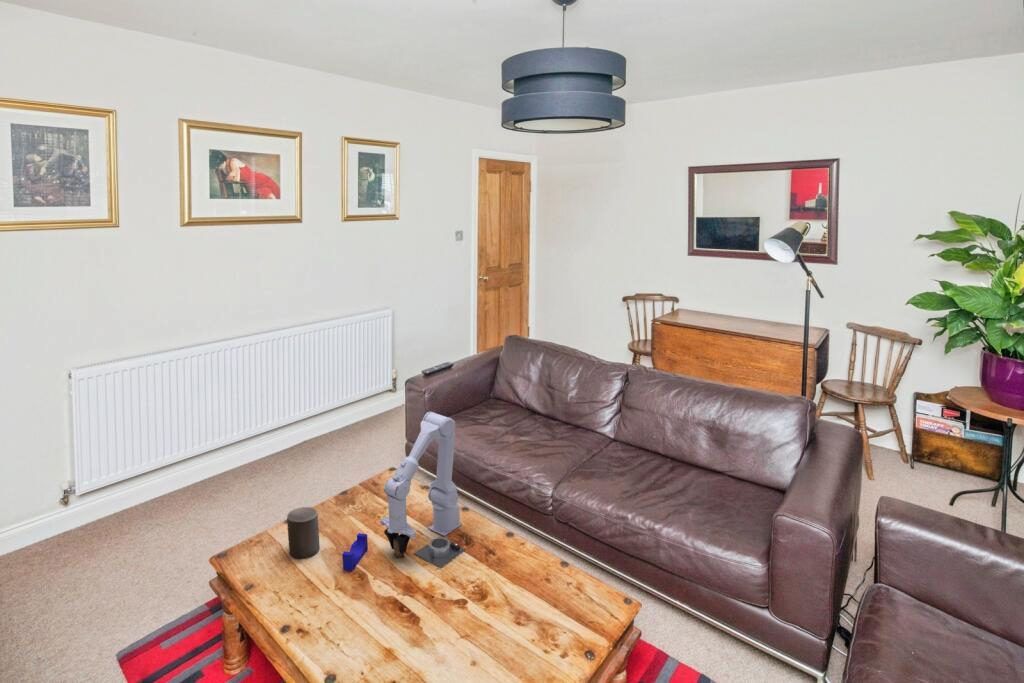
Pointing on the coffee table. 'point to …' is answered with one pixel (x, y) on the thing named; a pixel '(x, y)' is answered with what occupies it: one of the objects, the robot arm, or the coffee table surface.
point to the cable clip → (355, 552)
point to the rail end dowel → (397, 549)
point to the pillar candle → (303, 532)
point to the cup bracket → (439, 551)
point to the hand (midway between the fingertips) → (398, 550)
